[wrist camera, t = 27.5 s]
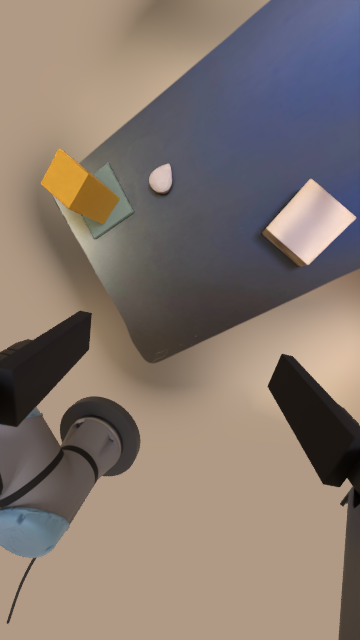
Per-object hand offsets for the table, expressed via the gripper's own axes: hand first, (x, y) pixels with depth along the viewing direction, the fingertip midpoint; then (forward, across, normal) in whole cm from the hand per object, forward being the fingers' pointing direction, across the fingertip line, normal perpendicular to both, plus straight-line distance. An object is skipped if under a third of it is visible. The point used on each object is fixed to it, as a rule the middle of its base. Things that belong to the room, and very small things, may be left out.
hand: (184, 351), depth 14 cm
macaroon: (+33, -8, +17) cm, 38 cm away
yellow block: (+34, -20, +11) cm, 41 cm away
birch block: (+27, +17, +13) cm, 35 cm away
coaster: (+35, -20, +11) cm, 41 cm away
